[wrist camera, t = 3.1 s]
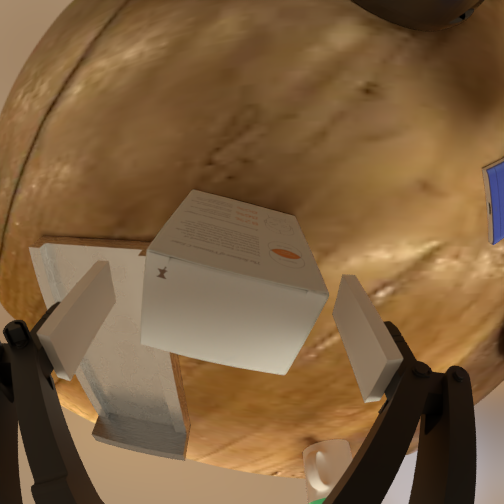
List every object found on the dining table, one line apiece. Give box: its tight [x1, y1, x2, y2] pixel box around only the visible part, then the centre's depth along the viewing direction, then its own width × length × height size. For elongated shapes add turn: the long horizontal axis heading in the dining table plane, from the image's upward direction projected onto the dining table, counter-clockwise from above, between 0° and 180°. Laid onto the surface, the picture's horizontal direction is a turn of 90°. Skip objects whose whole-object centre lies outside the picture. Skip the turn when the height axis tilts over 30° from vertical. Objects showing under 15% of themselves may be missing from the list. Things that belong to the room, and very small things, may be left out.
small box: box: [140, 189, 329, 375], centre depth 17 cm, size 8×6×10 cm
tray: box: [29, 236, 191, 461], centre depth 25 cm, size 28×13×6 cm, turn 176°
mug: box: [303, 439, 353, 504], centre depth 33 cm, size 12×8×10 cm
